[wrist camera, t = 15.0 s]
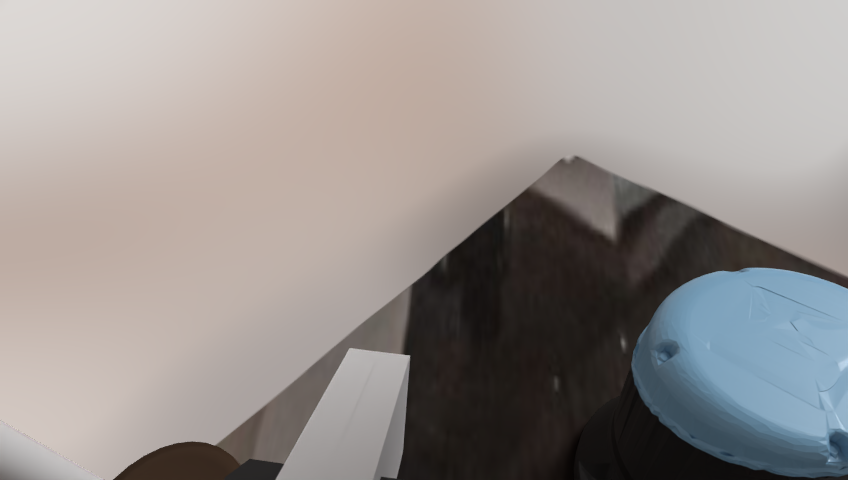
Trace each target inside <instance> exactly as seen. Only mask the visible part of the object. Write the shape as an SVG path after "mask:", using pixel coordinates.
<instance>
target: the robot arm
mask: <svg viewBox="0 0 848 480" xmlns="http://www.w3.org/2000/svg"><path fill="white" fill-rule="evenodd" d="M409 363H410V356H408V355H400V354H392V353H384V352H376V351H368V350H360V349H352V348H350V349H349V350H348V352H347V354H346V356H345V357H344V359H343V361H342V363H341V365H340V366H339V368H338V370H337V372H336V373H335V375H334V377H333V379H332V380H331V382H330V384H329V386H328V388H327V389H326V391H325V393H324V395H323V396H322V398H321V400H320V402H319V404H318V405H317V407H316V409H315V411H314V412H313V414H312V416H311V418H310V419H309V421H308V423H307V425H306V427H305V428H304V430H303V432H302V434H301V435H300V437H299V439H298V441H297V442H296V444H295V446H294V448H293V450H292V451H291V453H290V455H289V457H288V458H287V460H286V462H285V464H281V463H274V462H267V461H260V460H254V459H249V460H248V461H246V462H245V463H244V464H242V465H241V466H240V467H238V468H237V469H235V470H234V471H233V472H231V473H230V474H229V475H227V476H226V477H225V478H224V480H401V479H396V478H397V474H398V470H399V465H400V461H401V457H402V453H403V441H404V428H405V415H406V402H407V389H408V376H409ZM574 480H848V289H846V288H844V287H842V286H839V285H837V284H834V283H832V282H829V281H826V280H823V279H820V278H817V277H813V276H810V275H806V274H802V273H797V272H792V271H787V270H780V269H771V268H745V269H742V270H740V271H737V272H727V271H718V272H714V273H710V274H707V275H703V276H701V277H698V278H696V279H694V280H691V281H689V282H687V283H686V284H684V285H682V286H681V287H679V288H678V289H676V290H675V291H674V292H672V293H671V294H670V295H669V296H668V297H667V298H666V299H665V300H664V301H663V302H662V304H661V305H660V306H659V307H658V309H657V310H656V312H655V314H654V315H653V317H652V319H651V321H650V323H649V325H648V326H647V327H646V328H645V329H644V331H643V332H642V333H641V335H640V337H639V338H638V340H637V345H636V347H635V350H634V352H633V358H632V363H631V368H630V370H629V373H628V376H627V379H626V381H625V384H624V387H623V390H622V392H621V395H620V396H618V397H616V398H614V399H612V400H610V401H609V402H607V403H606V404H605V405H603V406H602V407H601V408H600V409H599V410H598V411H597V412H596V413H595V414H594V415H593V416H592V417H591V419H590V420H589V421H588V423H587V424H586V426H585V428H584V430H583V432H582V435H581V437H580V440H579V443H578V447H577V450H576V454H575V460H574Z"/></svg>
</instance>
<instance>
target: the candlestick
mask: <svg viewBox="0 0 848 480" xmlns="http://www.w3.org/2000/svg"><path fill="white" fill-rule="evenodd" d="M240 466H241V465H240V463H239V462H238V461H237V460H236V459H235V458H234V457H233V456H231V455H230V454H229V453H227V452H226V451H224V450H223V449H221V448H220V447H217V446H214V445H211V444H208V443H202V442H184V443H176V444H173V445H169V446H166V447H163V448H160V449H158V450H156V451H153V452H151V453H149V454H147V455H145V456H143V457H142V458H140V459H139V460H137V461H136V462H134V463H133V464H131V465H130V466H128V467H127V468H126V469H125V470H124V471H123V472H121V473H120V474H119V475H118V476H117V477H116V478H115V479H113V480H224V478H225V477H226V476H227V475H229V474H230V473H231V472H233V471H234V470H235V469H237V468H238V467H240ZM0 480H104V479H102V478H101V477H99V476H97V475H95V474H94V473H92V472H90V471H88V470H87V469H85V468H83V467H81V466H80V465H78V464H76V463H74V462H73V461H71V460H69V459H67V458H66V457H64V456H62V455H60V454H58V453H57V452H55V451H54V450H52V449H50V448H48V447H47V446H45V445H43V444H41V443H39V442H38V441H36V440H34V439H32V438H31V437H29V436H27V435H26V434H24V433H22V432H20V431H19V430H17V429H15V428H13V427H11V426H10V425H8V424H6V423H4V422H3V421H1V420H0Z"/></svg>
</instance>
